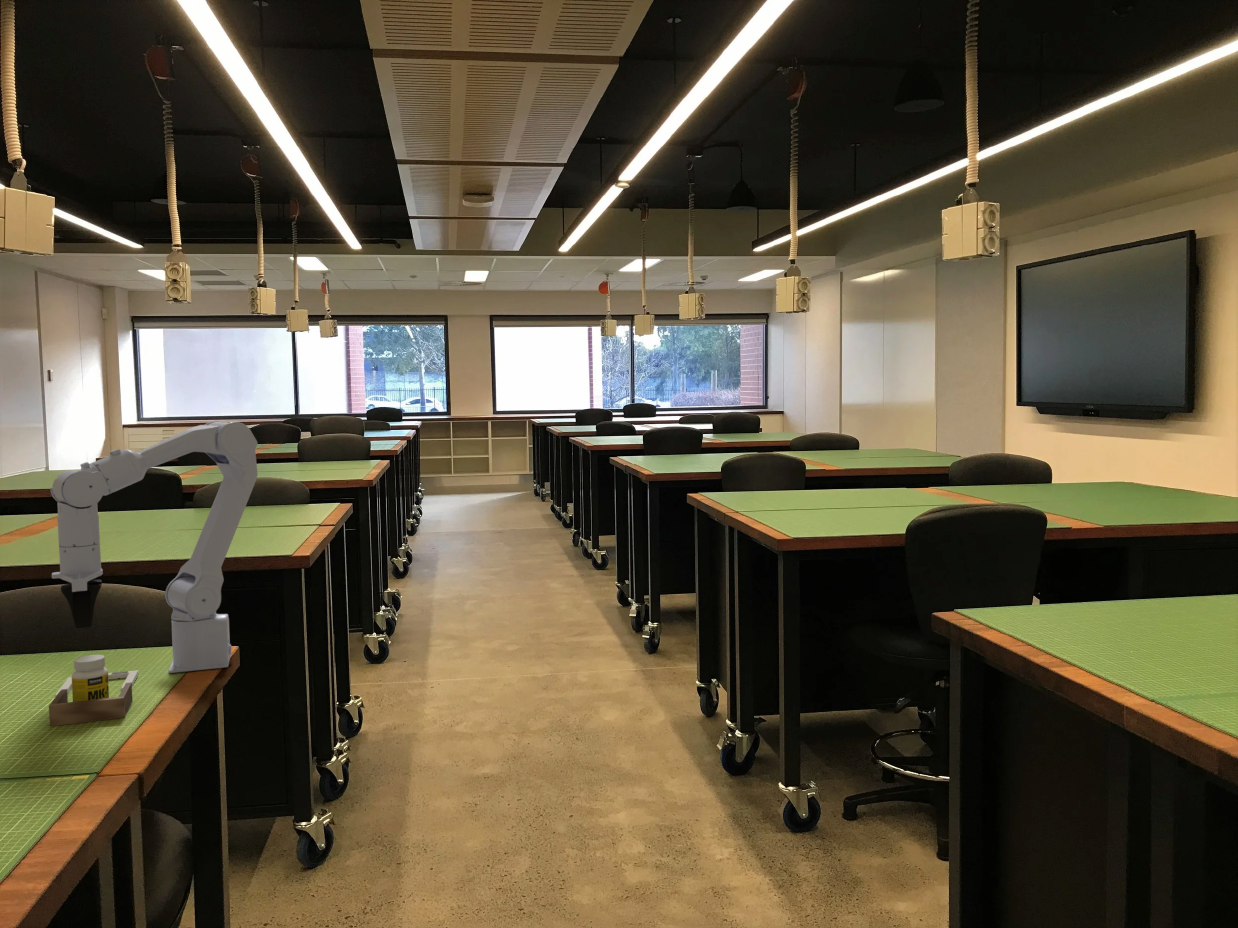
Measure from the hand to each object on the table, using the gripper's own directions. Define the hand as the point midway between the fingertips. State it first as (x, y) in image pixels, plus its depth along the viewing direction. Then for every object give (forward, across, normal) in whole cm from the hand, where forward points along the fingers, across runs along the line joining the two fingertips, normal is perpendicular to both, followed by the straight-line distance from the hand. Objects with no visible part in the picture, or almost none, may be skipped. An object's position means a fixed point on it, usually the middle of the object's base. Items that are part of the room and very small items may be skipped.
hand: (83, 626), depth 145 cm
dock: (+10, +1, +2) cm, 11 cm away
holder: (+10, +13, +1) cm, 17 cm away
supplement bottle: (+11, +13, +1) cm, 17 cm away
